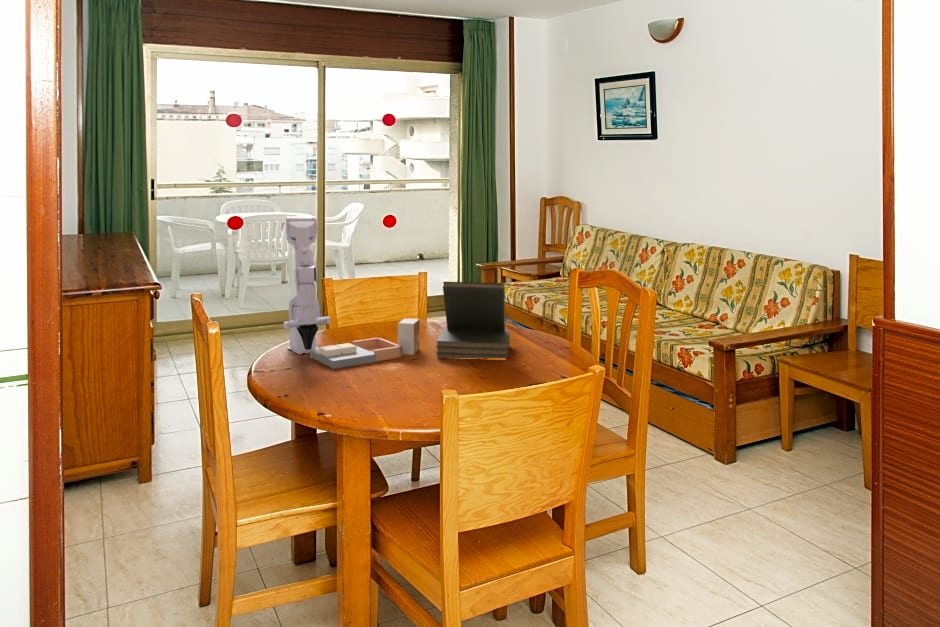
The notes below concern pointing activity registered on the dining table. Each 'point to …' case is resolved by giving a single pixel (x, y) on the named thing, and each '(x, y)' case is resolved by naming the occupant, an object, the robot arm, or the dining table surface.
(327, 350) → the tile
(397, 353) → the tray
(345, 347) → the tile
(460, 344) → the open dark laptop
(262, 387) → the dining table surface
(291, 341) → the robot arm
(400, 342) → the small box
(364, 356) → the board
